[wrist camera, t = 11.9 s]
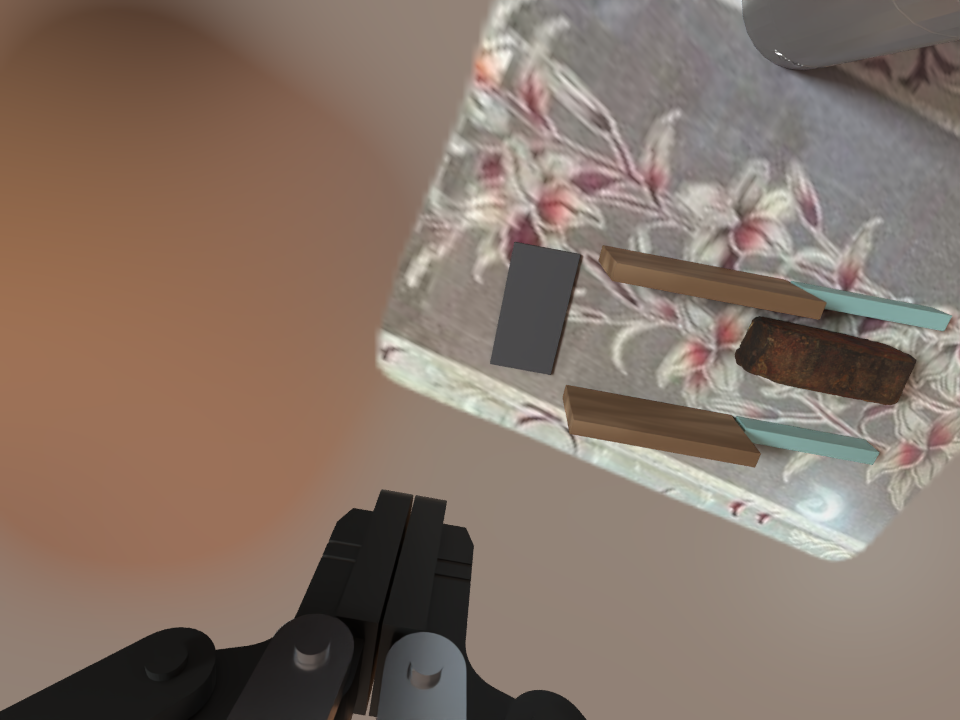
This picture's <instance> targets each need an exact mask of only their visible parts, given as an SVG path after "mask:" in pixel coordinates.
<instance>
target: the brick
mask: <svg viewBox="0 0 960 720" xmlns="http://www.w3.org/2000/svg"><path fill="white" fill-rule="evenodd" d="M735 359H736V363H737V364H738V365H740V366H742V367H743V369H744V370H746V371H747V372H749V373H752V374H754V375H759V376H762V377H764V378H767V379H769V380H771V381H773V382H776V383H779V384H784V385H787V386H793V387H797V388H802V389H807V390H812V391H817V392H822V393H827V394H832V395H838V396H842V397H848V398H853V399H860V400H864V401H867V402H874V403H879V404H884V405H893V404H895V403H897V402H898V400H899V398H900V396H901V394H902V391H903V389H904V387H905V384H906V382H907V380H908V378H909V376H910V374H911V372H912V370H913V368H914V365H915V363H916V360H915V359H914V358H913V357H912V356H911V355H909V354H907V353H904V352H901V351H900V350H897V349H895V348H893V347H891V346H889V345H886V344H883V343H879V342H873V341H869V340H868V339H861V338H858V337H854V336H849V335H846V334H841V333H836V332H832V331H828V330H823V329H818V328H813V327H808V326H803V325H798V324H793V323H789V322H784V321H780V320H775V319H770V318H765V317H760V316H759V317H756V318H754V319H753V320H752V323H751V325H750V327H749V329H748V331H747V333H746V335H745V337H744V339H743V341H742V342H741V345H740V348H739V349H737V350H736V353H735Z"/></svg>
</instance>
